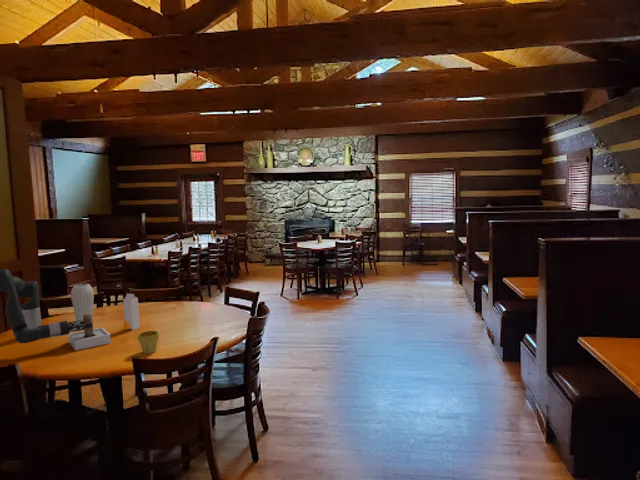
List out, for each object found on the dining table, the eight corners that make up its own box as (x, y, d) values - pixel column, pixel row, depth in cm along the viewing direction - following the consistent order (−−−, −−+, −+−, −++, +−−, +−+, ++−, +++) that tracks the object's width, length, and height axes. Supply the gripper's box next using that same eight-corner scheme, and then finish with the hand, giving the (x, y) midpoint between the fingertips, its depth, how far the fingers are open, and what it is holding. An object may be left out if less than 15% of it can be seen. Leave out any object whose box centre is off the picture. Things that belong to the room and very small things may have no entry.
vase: (68, 328, 298) (64, 287, 295) (83, 322, 311) (80, 282, 308) (86, 328, 294) (82, 287, 292) (101, 322, 307) (97, 283, 305)
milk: (132, 327, 296) (129, 292, 294) (140, 327, 294) (137, 293, 292) (125, 329, 290) (122, 294, 288) (133, 330, 288) (130, 295, 286)
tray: (69, 342, 268) (68, 333, 268) (102, 335, 279) (102, 327, 279) (75, 350, 254) (74, 341, 254) (110, 342, 265) (110, 334, 265)
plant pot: (142, 356, 242) (140, 337, 241) (136, 351, 250) (135, 333, 249) (162, 351, 248) (161, 333, 247) (156, 346, 256) (155, 329, 255)
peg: (85, 342, 268) (83, 314, 266) (94, 341, 270) (92, 313, 268) (85, 344, 264) (82, 316, 262) (93, 343, 266) (91, 315, 264)
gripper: (60, 325, 251) (93, 319, 261) (55, 319, 262) (87, 314, 272) (61, 338, 251) (94, 332, 261) (56, 332, 263) (88, 327, 273)
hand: (90, 323), depth 267 cm, fingers open, 8 cm apart
